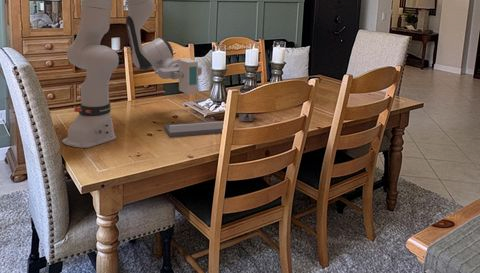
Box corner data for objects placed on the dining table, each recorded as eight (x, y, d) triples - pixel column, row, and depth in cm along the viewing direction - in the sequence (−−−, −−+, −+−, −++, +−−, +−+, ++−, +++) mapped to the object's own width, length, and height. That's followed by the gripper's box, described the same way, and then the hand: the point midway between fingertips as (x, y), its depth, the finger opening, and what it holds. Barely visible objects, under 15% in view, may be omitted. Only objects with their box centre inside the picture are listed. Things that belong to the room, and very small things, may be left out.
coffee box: (242, 116, 246) (243, 84, 241) (255, 117, 245) (256, 85, 240) (238, 121, 238) (239, 88, 233) (251, 122, 237) (253, 89, 231)
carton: (188, 94, 217) (187, 62, 213) (179, 90, 223) (178, 59, 219) (197, 93, 220) (198, 61, 215) (188, 89, 226) (188, 58, 222)
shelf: (170, 137, 213) (169, 126, 211) (164, 128, 224) (164, 118, 222) (225, 132, 221) (225, 121, 220) (217, 124, 232) (217, 114, 230)
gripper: (153, 64, 223) (167, 70, 212) (192, 60, 234) (208, 66, 224) (153, 78, 225) (167, 84, 214) (192, 74, 236) (208, 79, 226)
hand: (188, 75), depth 219 cm, fingers closed on carton, 5 cm apart
